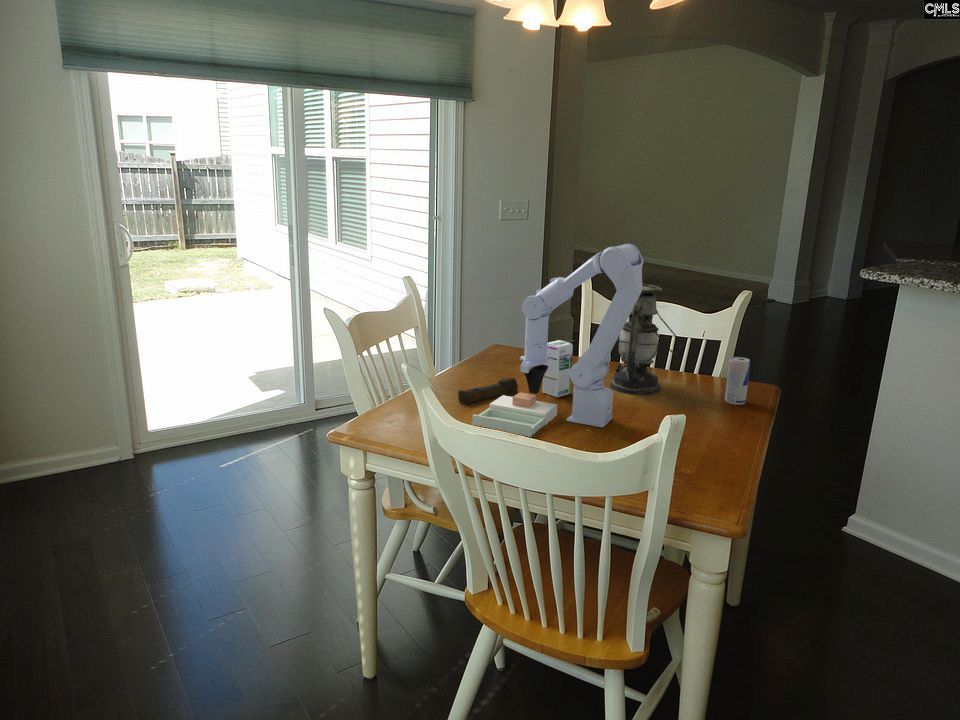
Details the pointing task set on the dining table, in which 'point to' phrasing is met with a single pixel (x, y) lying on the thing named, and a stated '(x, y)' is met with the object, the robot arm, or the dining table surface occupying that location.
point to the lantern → (639, 347)
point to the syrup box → (558, 369)
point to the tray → (509, 422)
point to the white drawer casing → (526, 408)
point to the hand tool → (488, 391)
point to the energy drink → (737, 380)
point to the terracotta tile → (524, 399)
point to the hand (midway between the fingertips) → (534, 392)
